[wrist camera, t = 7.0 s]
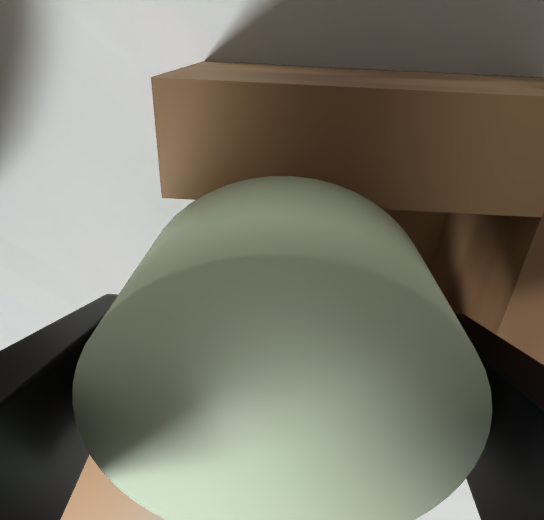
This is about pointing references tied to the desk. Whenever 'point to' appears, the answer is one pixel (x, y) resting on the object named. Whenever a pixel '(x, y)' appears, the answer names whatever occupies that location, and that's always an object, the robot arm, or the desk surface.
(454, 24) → the desk surface
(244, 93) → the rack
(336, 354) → the peg
